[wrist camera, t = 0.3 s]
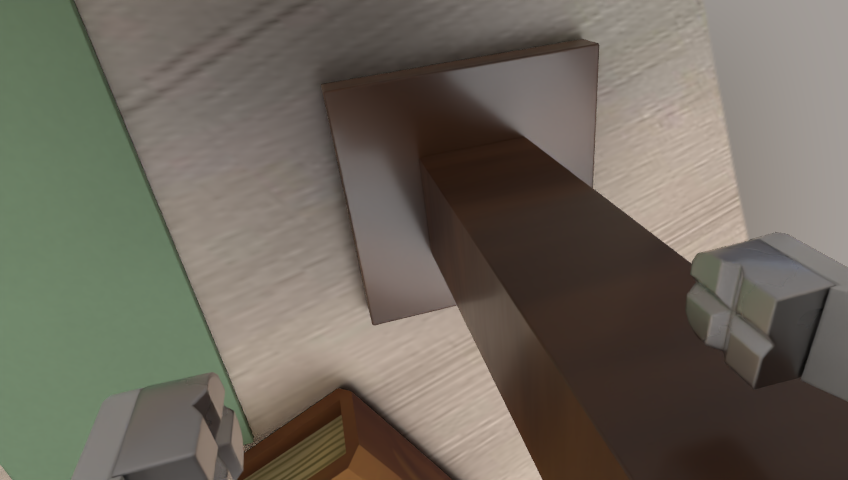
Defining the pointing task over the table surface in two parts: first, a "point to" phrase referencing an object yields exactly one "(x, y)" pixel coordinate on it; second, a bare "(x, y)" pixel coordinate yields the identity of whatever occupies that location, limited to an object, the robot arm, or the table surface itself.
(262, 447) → the diary
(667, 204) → the table surface
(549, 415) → the stand
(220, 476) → the robot arm
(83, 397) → the mat
